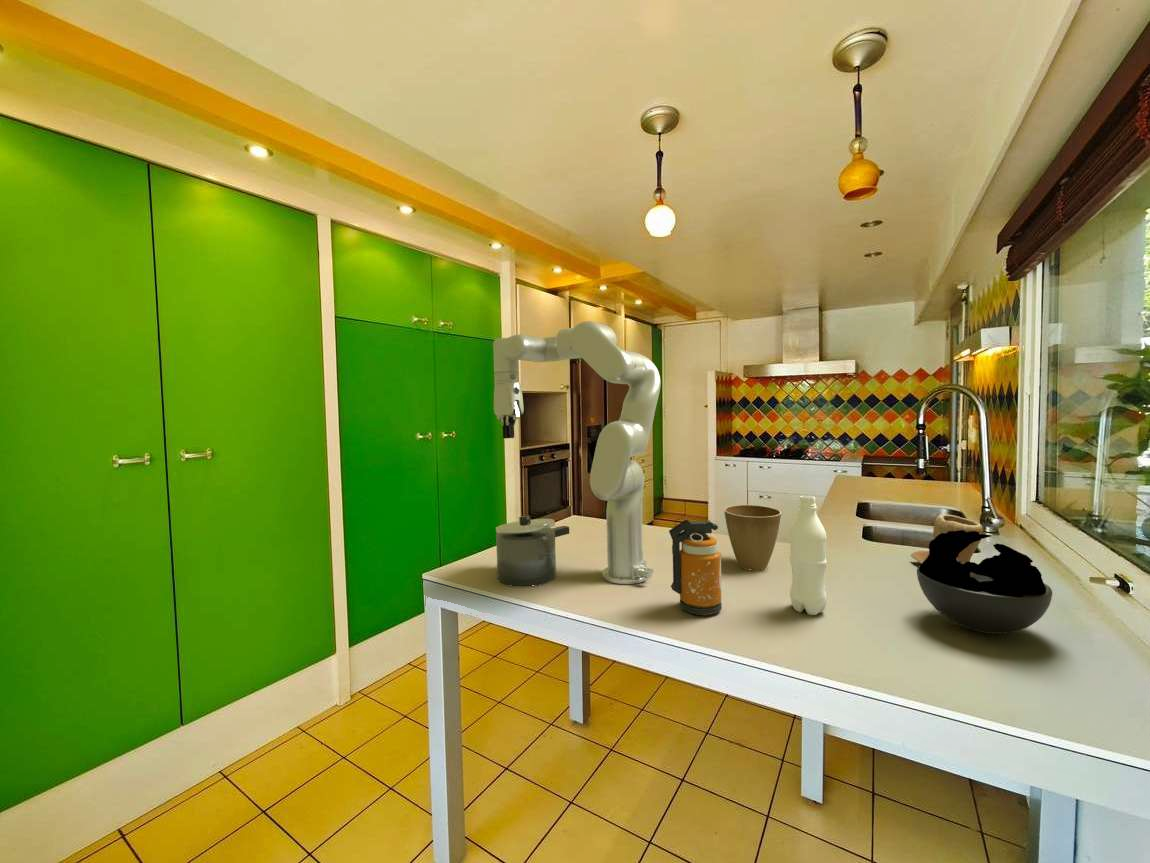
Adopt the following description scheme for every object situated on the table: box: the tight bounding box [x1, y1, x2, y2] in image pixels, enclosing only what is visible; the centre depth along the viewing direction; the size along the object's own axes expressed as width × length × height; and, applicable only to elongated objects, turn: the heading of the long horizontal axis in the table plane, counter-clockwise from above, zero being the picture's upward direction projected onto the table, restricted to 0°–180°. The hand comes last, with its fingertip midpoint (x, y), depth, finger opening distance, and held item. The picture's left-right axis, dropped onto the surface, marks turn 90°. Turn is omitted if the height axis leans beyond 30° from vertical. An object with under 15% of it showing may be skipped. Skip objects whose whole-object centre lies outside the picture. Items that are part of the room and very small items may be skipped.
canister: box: [668, 519, 723, 616], centre depth 105 cm, size 9×11×20 cm
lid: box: [495, 515, 556, 534], centre depth 128 cm, size 16×16×3 cm
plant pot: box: [723, 504, 782, 571], centre depth 131 cm, size 15×15×16 cm
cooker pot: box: [495, 525, 570, 587], centre depth 132 cm, size 18×23×12 cm
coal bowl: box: [916, 530, 1053, 634], centre depth 92 cm, size 20×20×19 cm
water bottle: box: [789, 495, 828, 616], centre depth 102 cm, size 7×7×25 cm
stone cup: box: [910, 513, 984, 565], centre depth 123 cm, size 15×12×15 cm
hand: (508, 438), depth 146 cm, fingers closed
